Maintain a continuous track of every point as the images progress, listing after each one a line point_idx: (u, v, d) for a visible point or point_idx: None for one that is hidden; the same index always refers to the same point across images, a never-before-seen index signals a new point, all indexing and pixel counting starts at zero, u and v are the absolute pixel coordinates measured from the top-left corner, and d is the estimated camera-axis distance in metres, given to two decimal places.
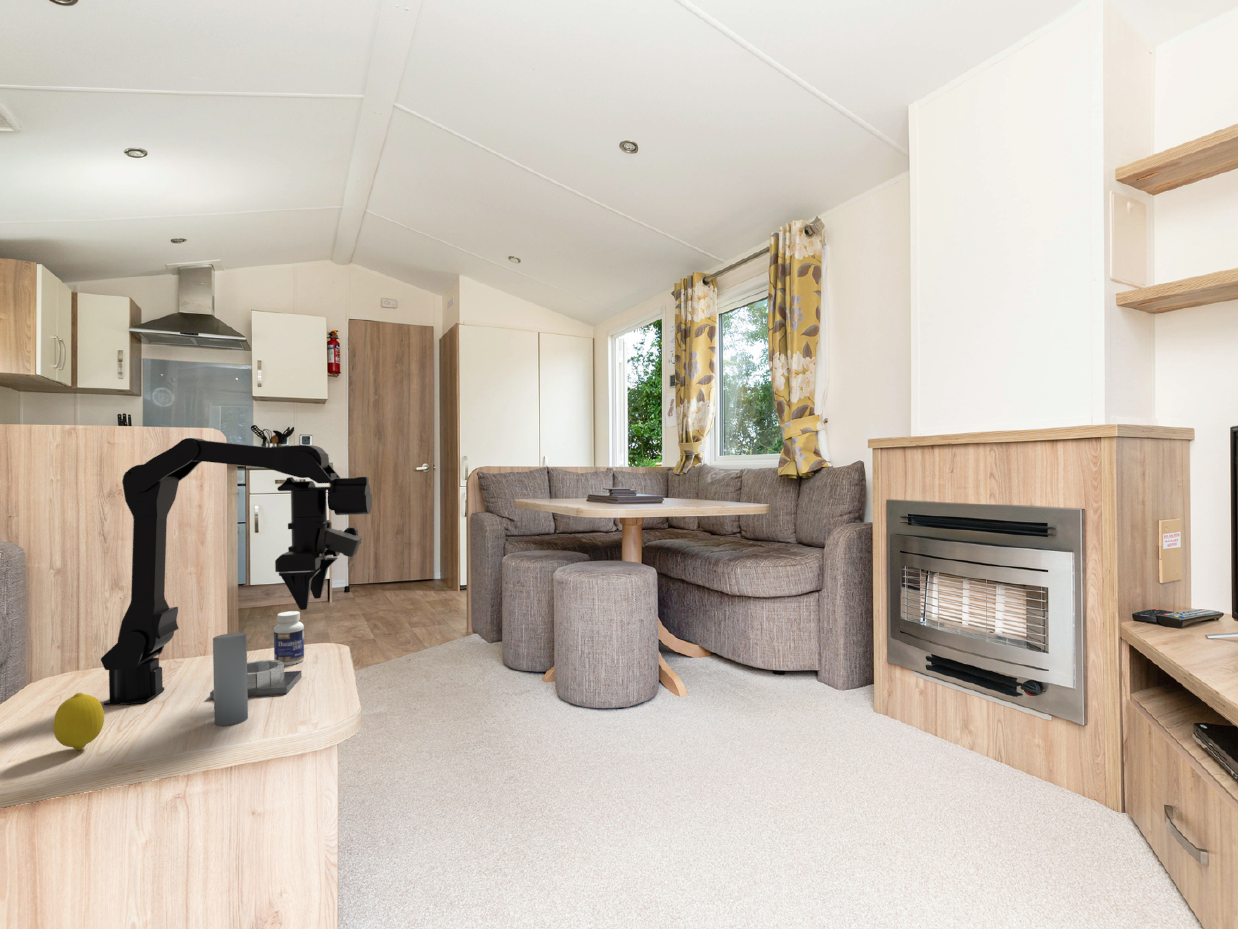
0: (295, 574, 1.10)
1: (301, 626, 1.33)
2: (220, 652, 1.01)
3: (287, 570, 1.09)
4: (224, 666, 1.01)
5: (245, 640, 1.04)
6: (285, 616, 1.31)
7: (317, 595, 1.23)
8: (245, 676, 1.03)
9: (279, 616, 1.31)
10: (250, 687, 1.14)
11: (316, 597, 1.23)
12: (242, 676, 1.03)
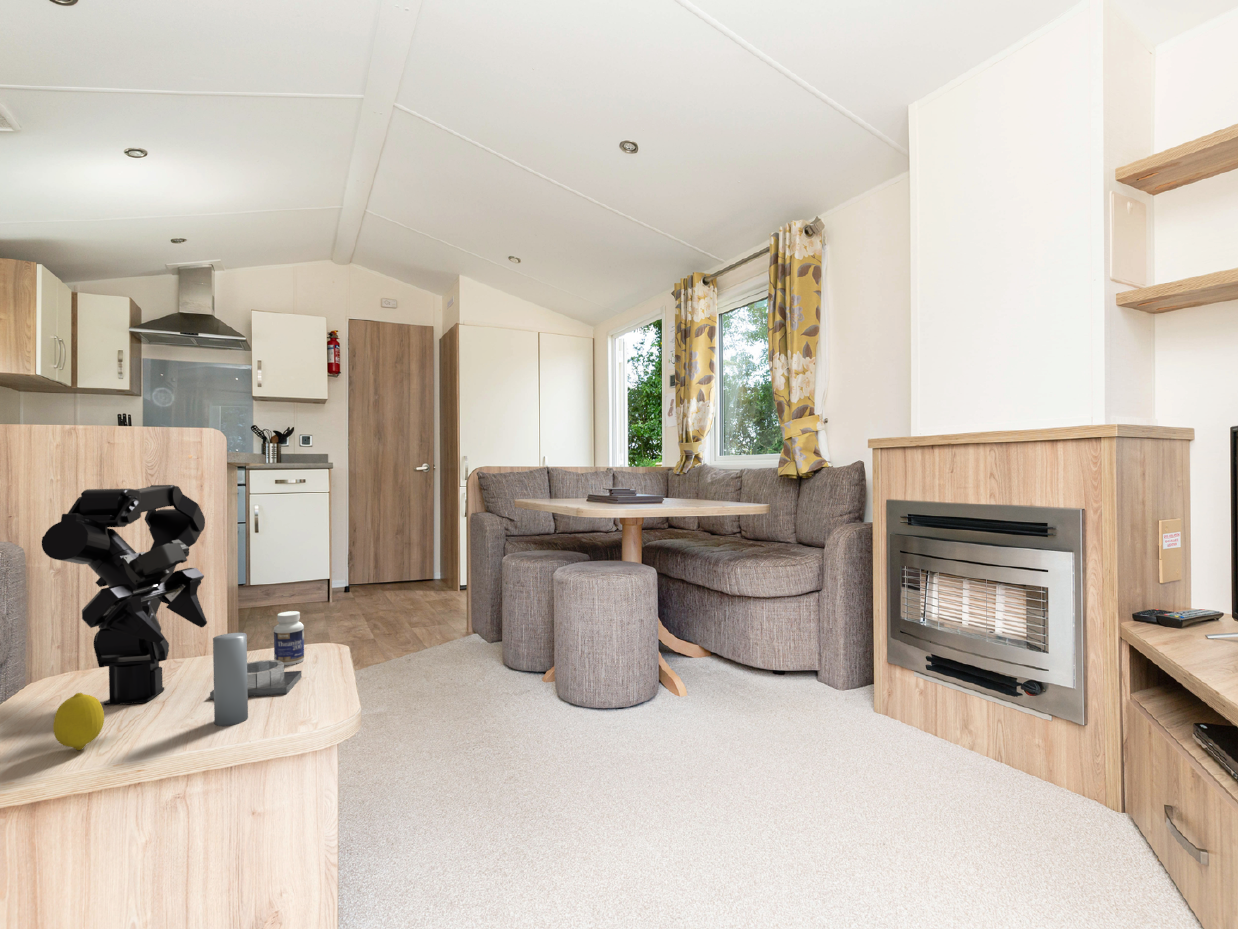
0: (111, 616, 0.96)
1: (301, 626, 1.33)
2: (220, 652, 1.01)
3: (95, 618, 0.95)
4: (224, 666, 1.01)
5: (245, 640, 1.04)
6: (285, 616, 1.31)
7: (201, 623, 1.08)
8: (245, 676, 1.03)
9: (279, 616, 1.31)
10: (250, 687, 1.14)
11: (202, 625, 1.08)
12: (242, 676, 1.03)
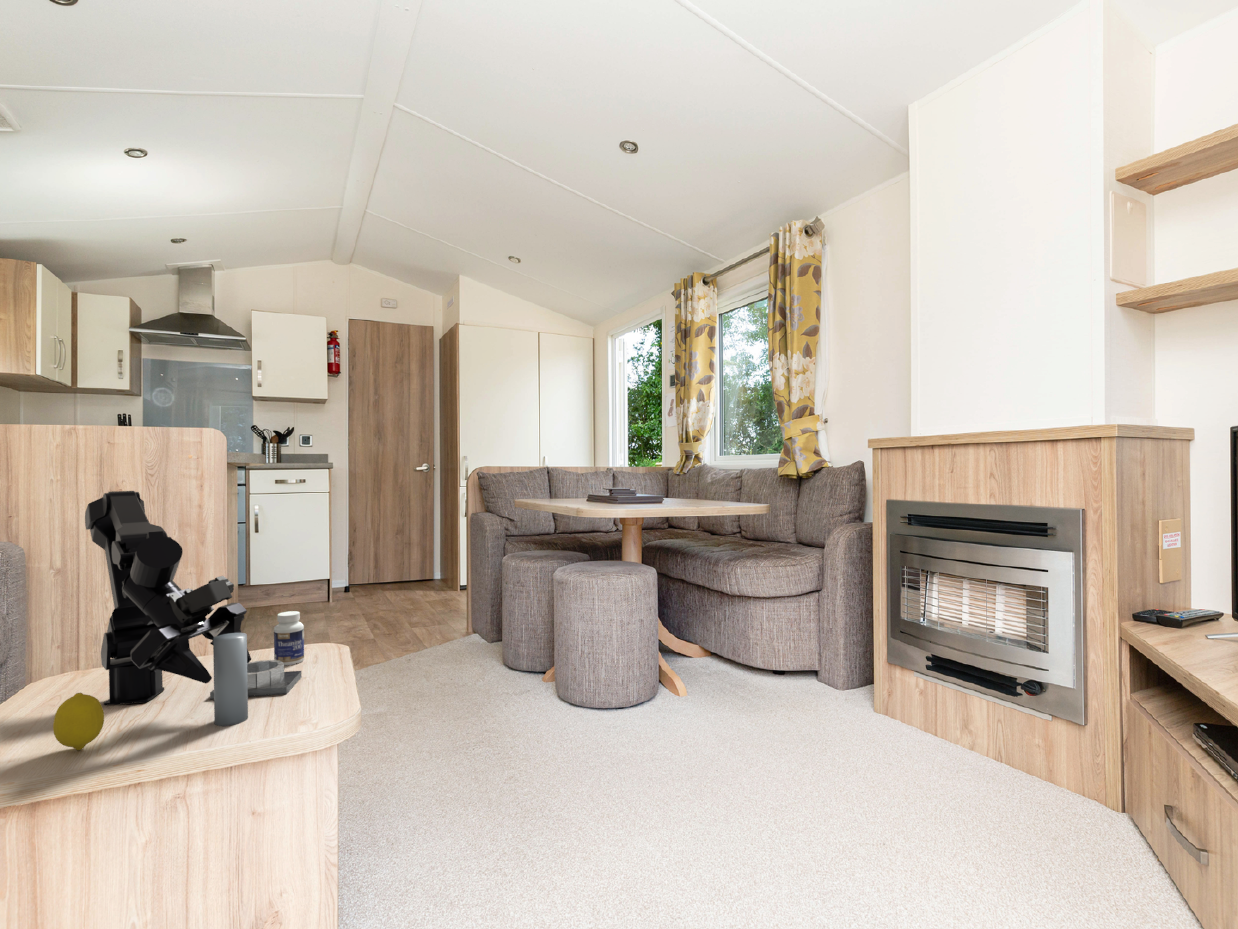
0: (160, 657, 0.96)
1: (301, 626, 1.33)
2: (220, 652, 1.01)
3: (144, 659, 0.94)
4: (224, 666, 1.01)
5: (245, 640, 1.04)
6: (285, 616, 1.31)
7: None
8: (245, 676, 1.03)
9: (279, 616, 1.31)
10: (250, 687, 1.14)
11: None
12: (242, 676, 1.03)
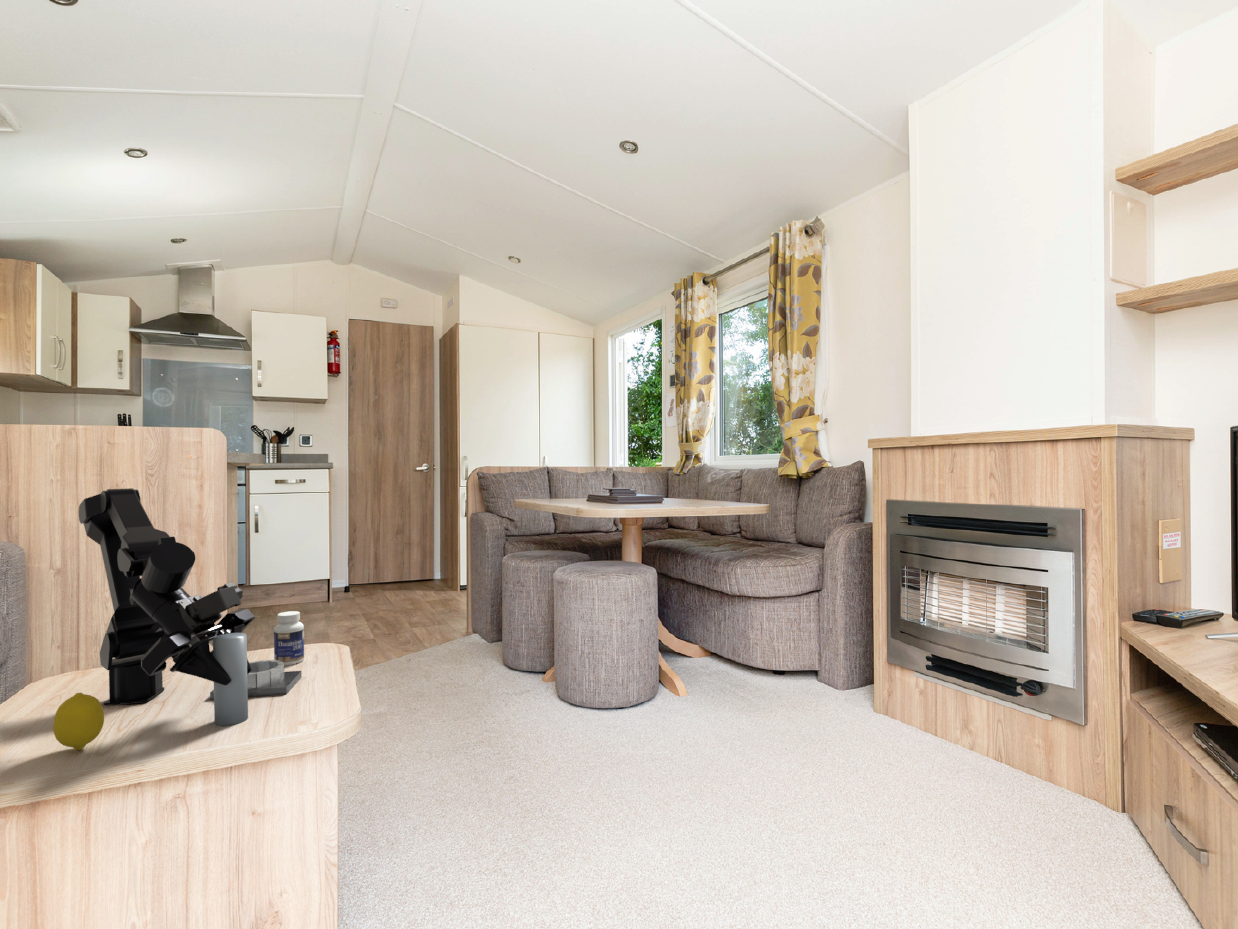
0: (181, 659, 0.98)
1: (301, 626, 1.33)
2: (220, 652, 1.01)
3: (155, 666, 0.94)
4: (224, 666, 1.01)
5: (245, 640, 1.04)
6: (285, 616, 1.31)
7: None
8: (245, 676, 1.03)
9: (279, 616, 1.31)
10: (250, 687, 1.14)
11: None
12: (242, 676, 1.03)
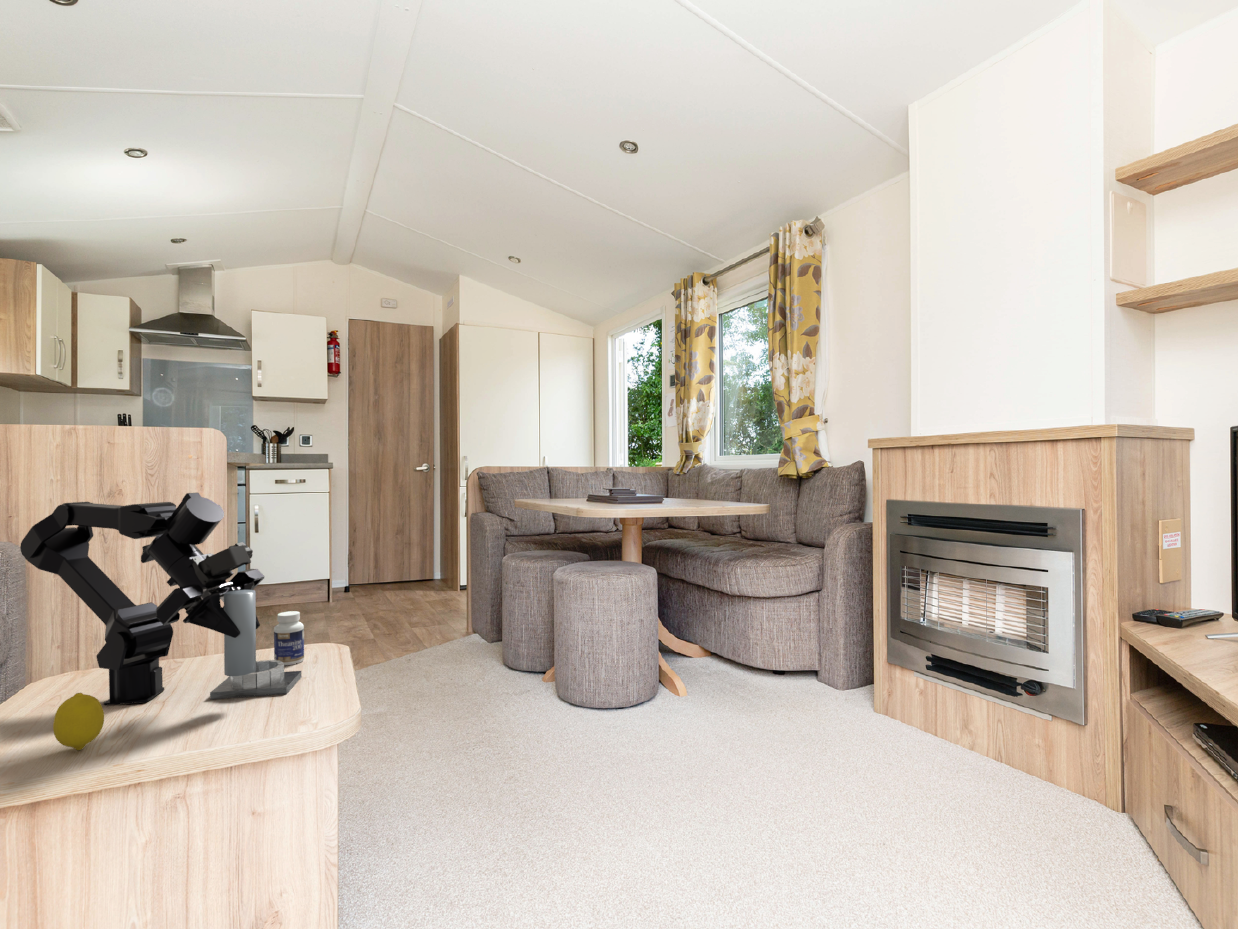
0: (193, 611, 1.04)
1: (301, 626, 1.33)
2: (230, 606, 1.07)
3: (168, 616, 1.00)
4: (234, 619, 1.07)
5: (254, 596, 1.09)
6: (285, 616, 1.31)
7: None
8: (253, 630, 1.09)
9: (279, 616, 1.31)
10: (250, 687, 1.14)
11: None
12: (251, 630, 1.08)
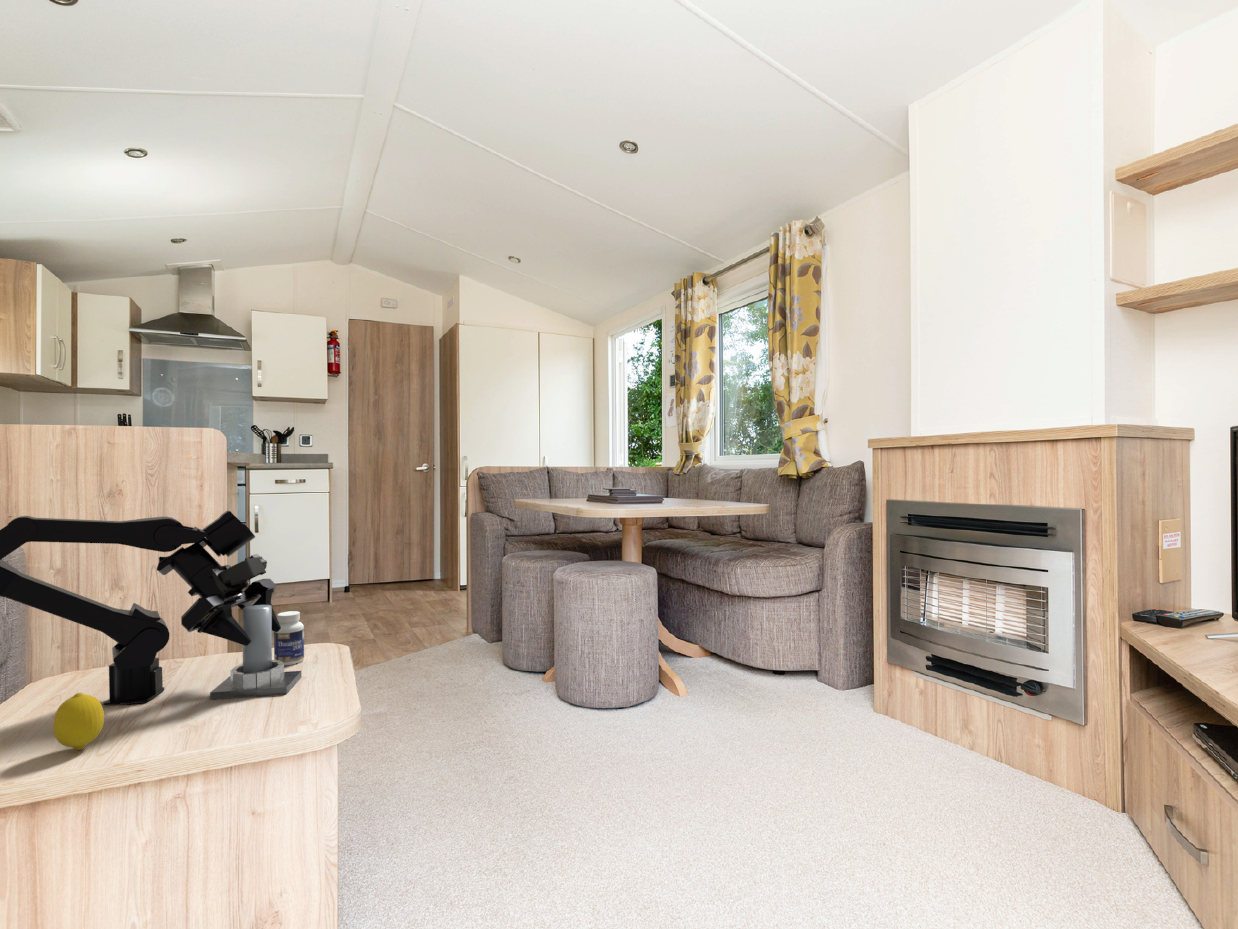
0: (207, 621, 1.10)
1: (301, 626, 1.33)
2: (248, 620, 1.16)
3: (193, 623, 1.09)
4: (252, 632, 1.16)
5: (270, 611, 1.18)
6: (285, 616, 1.31)
7: (276, 628, 1.22)
8: (270, 642, 1.18)
9: (279, 616, 1.31)
10: (250, 687, 1.14)
11: (277, 630, 1.22)
12: (268, 642, 1.17)
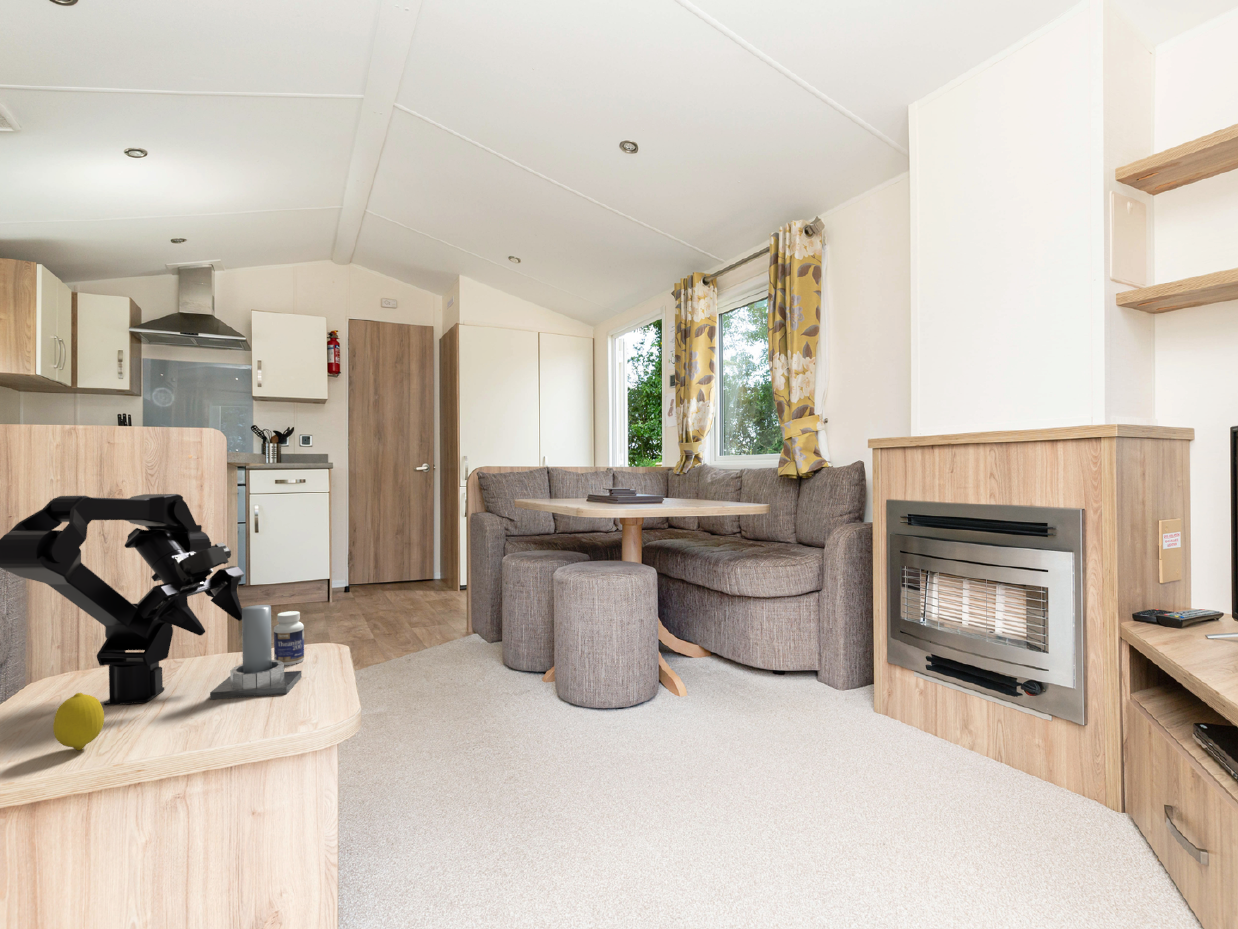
0: (161, 610, 1.11)
1: (301, 626, 1.33)
2: (248, 620, 1.16)
3: (148, 611, 1.10)
4: (252, 632, 1.16)
5: (270, 611, 1.18)
6: (285, 616, 1.31)
7: (239, 617, 1.22)
8: (269, 642, 1.18)
9: (279, 616, 1.31)
10: (250, 687, 1.14)
11: (239, 619, 1.22)
12: (267, 642, 1.17)
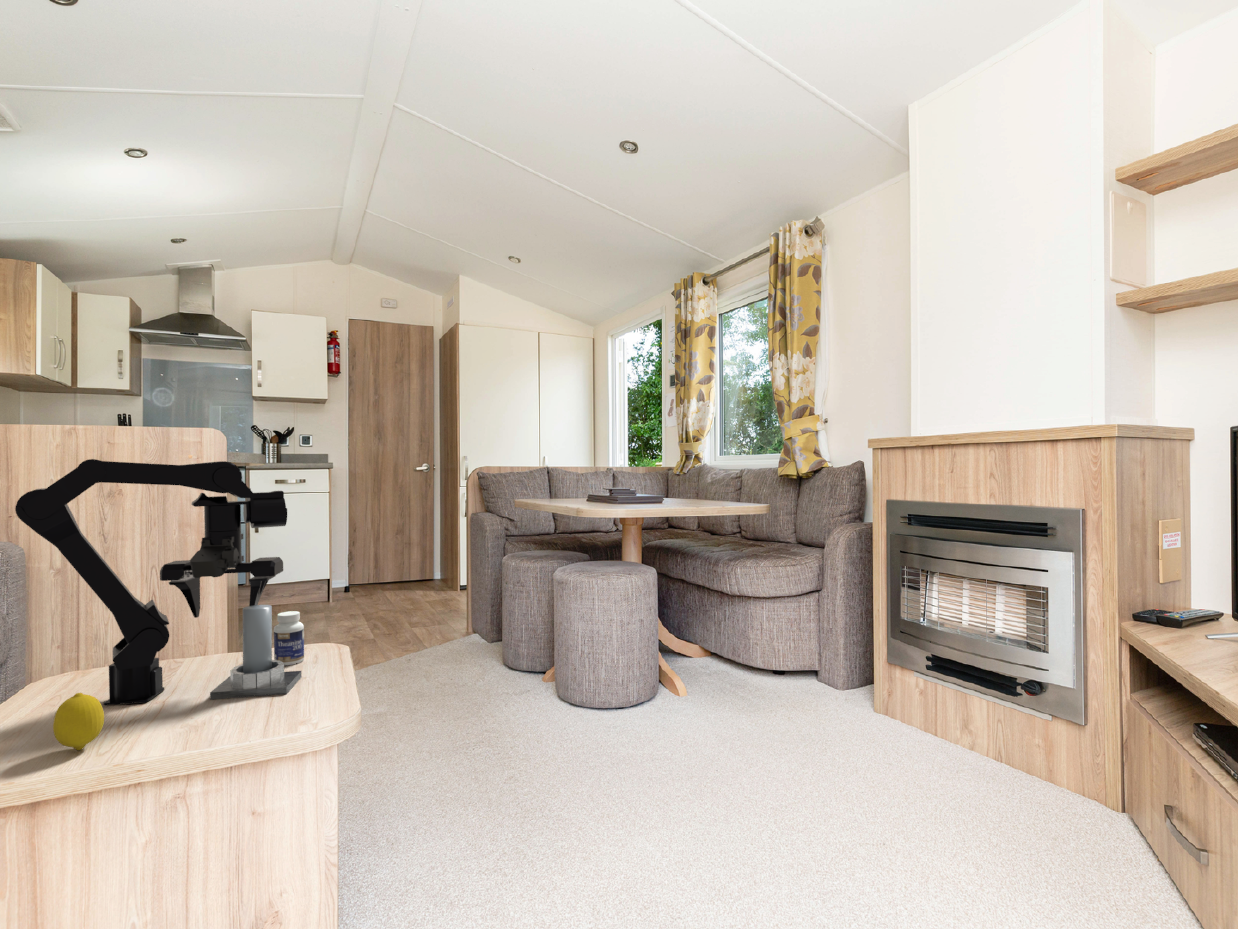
0: None
1: (301, 626, 1.33)
2: (248, 620, 1.16)
3: None
4: (252, 632, 1.16)
5: (270, 611, 1.18)
6: (285, 616, 1.31)
7: None
8: (270, 642, 1.18)
9: (279, 616, 1.31)
10: (250, 687, 1.14)
11: None
12: (268, 642, 1.17)
